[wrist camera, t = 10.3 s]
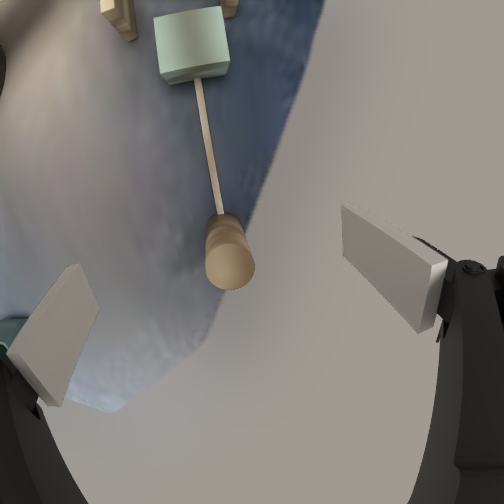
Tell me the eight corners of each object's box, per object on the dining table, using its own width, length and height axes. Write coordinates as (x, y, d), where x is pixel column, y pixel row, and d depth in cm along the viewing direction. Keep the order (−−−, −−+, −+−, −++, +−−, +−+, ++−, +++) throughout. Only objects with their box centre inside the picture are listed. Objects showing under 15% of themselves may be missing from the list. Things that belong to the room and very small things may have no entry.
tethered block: (201, 250, 33) (199, 296, 24) (163, 38, 23) (145, 0, 13) (252, 240, 33) (269, 282, 24) (218, 27, 23) (223, -14, 14)
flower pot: (-2, 308, 31) (-29, 340, 23) (31, 306, 32) (4, 342, 24) (19, 349, 35) (-1, 383, 26) (53, 351, 36) (34, 390, 27)
